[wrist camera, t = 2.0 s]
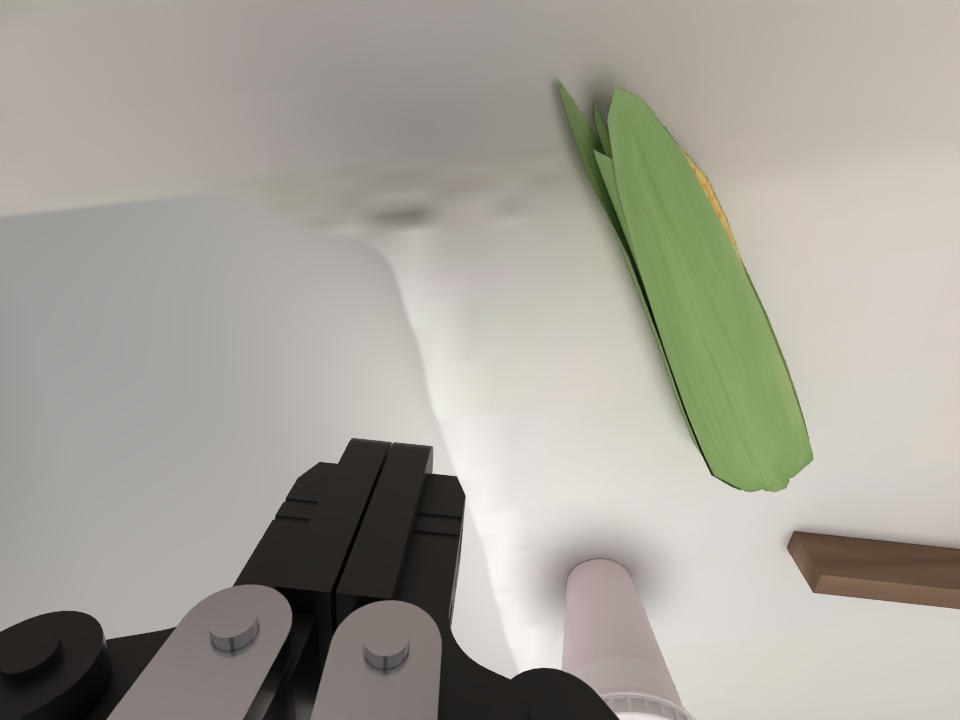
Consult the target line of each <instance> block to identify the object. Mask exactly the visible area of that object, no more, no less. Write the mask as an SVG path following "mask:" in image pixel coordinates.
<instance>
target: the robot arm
mask: <svg viewBox="0 0 960 720" xmlns="http://www.w3.org/2000/svg"><path fill="white" fill-rule="evenodd" d="M432 465H433V447H432V446H425V445H415V444H405V443H396V442H395V443H393V444H392V443H391V442H384V441H376V440H366V439H356V438H352V439H351V440H350V442H349V443H348V446H347V447H346V449H345V451H344V453H343V455H342V457H341V459H340V461H339V463H338V464H334V463H324V462H319V463H318V464H316V465H315V466H314V467H312V468H311V469H310V470H308V471H307V472H305V473H304V474H303V475H302V476H300V477H299V478H298V479H297V480H296V482H295V484H294V485H293V487H292V489H291V490H290V492H289V494H288V496H287V497H286V501H285V502H284V503H283V504H282V505H281V507H280V509H279V510H278V512H277V514H276V517H275V520H272V522H271V524H270V525H269V527H268V529H267V530H266V532H265V534H264V535H263V537H262V539H261V540H260V542H259V544H258V545H257V547H256V549H255V550H254V552H253V554H252V555H251V557H250V559H249V560H248V562H247V563H246V565H245V567H244V569H243V570H242V572H241V574H240V575H239V577H238V578H237V580H236V582H235V584H234V585H233V587H230V588H227V589H224V590H221V591H219V592H216V593H214V594H212V595H210V596H208V597H207V598H205V599H204V600H202V601H201V602H199V603H198V604H197V605H196V606H194V607H193V608H192V609H191V610H190V611H189V612H188V613H187V614H186V616H185V617H184V618H183V619H182V620H181V622H180V623H179V624H178V626H177V627H174V628H170V629H167V630H161V631H156V632H150V633H144V634H138V635H132V636H126V637H120V638H114V639H108V640H105V637H104V633H103V630H102V627H101V625H100V624H99V622H98V621H97V620H96V619H95V618H93V617H92V616H90V615H88V614H85V613H82V612H77V611H59V612H52V613H47V614H43V615H39V616H36V617H33V618H30V619H27V620H25V621H23V622H21V623H18V624H16V625H14V626H11V627H9V628H7V629H5V630H3V631H1V632H0V720H620V719H619V718H618V717H617V716H616V714H615V713H614V712H613V711H612V710H611V709H610V707H609V706H608V705H607V704H606V703H605V702H604V701H603V699H602V698H601V697H600V696H599V695H598V694H597V693H596V692H595V691H594V690H593V689H592V688H591V687H590V686H589V685H588V684H586V683H585V682H584V681H583V680H581V679H579V678H578V677H576V676H574V675H572V674H570V673H567V672H565V671H561V670H557V669H552V668H537V669H531V670H528V671H524V672H522V673H520V674H518V675H516V676H515V677H514V678H512V679H511V680H510V679H508V678H506V677H504V676H501V675H499V674H497V673H495V672H493V671H491V670H488V669H486V668H485V667H483V666H481V665H479V664H477V663H476V662H475V661H473V660H472V659H471V658H469V657H468V656H467V655H466V654H465V653H464V652H463V651H462V649H461V648H460V647H459V645H458V644H457V642H456V640H455V639H454V637H453V635H452V631H451V624H452V616H453V608H454V601H455V594H456V586H457V579H458V572H459V564H460V555H461V544H462V531H463V520H464V508H465V497H466V496H465V493H464V491H463V489H462V487H461V485H460V482H459V480H458V478H457V476H448V475H439V474H432V468H433V466H432Z"/></svg>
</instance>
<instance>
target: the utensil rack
mask: <svg viewBox="0 0 960 720" xmlns="http://www.w3.org/2000/svg"><path fill="white" fill-rule="evenodd" d="M787 550H788V551H789V553H790V555H791V556H792V558H793V560H794V561H795V563H796V565H797V566H798V568H799V570H800V571H801V573H802V575H803V576H804V578H805V580H806V581H807V583H808V585H809V586H810V588H811V590H812V591H813V593H820V594H829V595H838V596H847V597H856V598H865V599H874V600H883V601H891V602H900V603H909V604H918V605H927V606H936V607H945V608H954V609H960V550H958V549H949V548H940V547H930V546H921V545H912V544H903V543H894V542H884V541H875V540H866V539H857V538H847V537H838V536H829V535H820V534H811V533H801V532H794V533H793V536H792V538H791V541H790V543H789V545H788V548H787Z"/></svg>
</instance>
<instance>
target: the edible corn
mask: <svg viewBox="0 0 960 720" xmlns="http://www.w3.org/2000/svg"><path fill="white" fill-rule="evenodd" d="M557 81H558V85H559V89H560V94H561V98H562V102H563V105H564V108H565V111H566V114H567V117H568V120H569V123H570V126H571V129H572V132H573V135H574V138H575V141H576V144H577V147H578V150H579V153H580V156H581V159H582V162H583V165H584V167H585V170H586V172H587V174H588V177H589V179H590V181H591V183H592V185H593V187H594V189H595V191H596V193H597V196H598V198H599V200H600V202H601V204H602V206H603V208H604V210H605V212H606V215H607V217H608V219H609V221H610V223H611V225H612V227H613V229H614V232H615V234H616V237H617V239H618V242H619V245H620V247H621V250H622V252H623V255H624V258H625V260H626V263H627V265H628V268H629V271H630V273H631V276H632V279H633V281H634V284H635V286H636V289H637V292H638V294H639V297H640V299H641V302H642V305H643V307H644V310H645V312H646V315H647V318H648V320H649V323H650V326H651V328H652V331H653V334H654V336H655V339H656V342H657V345H658V348H659V351H660V354H661V356H662V359H663V362H664V365H665V368H666V371H667V374H668V376H669V379H670V382H671V385H672V388H673V391H674V394H675V396H676V399H677V402H678V404H679V407H680V410H681V412H682V415H683V417H684V420H685V422H686V425H687V427H688V430H689V433H690V435H691V438H692V440H693V443H694V444H695V446H696V447H697V449H698V450H699V452H700V453H701V455H702V456H703V458H704V460H705V462H706V465H707V467H708V469H709V471H710V473H711V475H712V476H714V477H716V478H718V479H719V480H721V481H723V482H724V483H726V484H728V485H730V486H731V487H734V488H736V489H739V490H744V491H746V492H755V491H758V490H761V489H764V490H765V491H770V492H778V491H780V490H782V489H785V488H786V487H787V485H788V483H789V479H790V478H792V477H794V476H795V475H796V474H798V473H799V472H800V471H801V470H802V469H803V468H804V467H806V466H807V465H808V464H809V463H810V462H811V461H812V460H813V453H812V449H811V445H810V442H809V437H808V433H807V429H806V425H805V421H804V417H803V414H802V411H801V407H800V404H799V400H798V397H797V394H796V391H795V388H794V385H793V382H792V379H791V376H790V373H789V370H788V367H787V364H786V362H785V359H784V357H783V354H782V352H781V349H780V347H779V344H778V342H777V339H776V337H775V334H774V332H773V329H772V327H771V324H770V322H769V319H768V317H767V314H766V312H765V310H764V307H763V305H762V303H761V301H760V299H759V297H758V295H757V292H756V290H755V288H754V286H753V284H752V282H751V279H750V277H749V275H748V273H747V271H746V269H745V267H744V264H743V262H742V260H741V258H740V255H739V252H738V249H737V246H736V243H735V241H734V238H733V235H732V232H731V229H730V226H729V223H728V220H727V218H726V216H725V214H724V212H723V210H722V208H721V206H720V203H719V201H718V199H717V197H716V195H715V193H714V191H713V189H712V187H711V184H710V182H709V180H708V178H707V176H706V175H705V174H704V173H703V172H702V171H701V169H700V168H699V167H698V166H697V165H696V164H695V163H694V161H693V160H692V159H691V158H690V157H689V156H688V154H687V153H686V152H685V151H684V150H682V149H681V148H679V147H678V145H677V144H676V142H675V141H674V139H673V138H672V136H671V135H670V133H669V132H668V130H667V129H666V127H664V126H663V125H662V124H661V122H660V121H659V120H658V118H657V117H656V116H655V114H654V113H653V112H652V110H651V109H650V108H649V106H648V105H647V104H646V102H645V101H644V100H643V99H641V98H639V97H637V96H635V95H633V94H632V93H630V92H628V91H626V90H624V89H622V88H620V87H618V86H615V90H614V94H613V98H612V102H611V106H610V110H609V114H608V118H607V122H608V129H609V135H610V138H609V136H608V133H607V130H606V128H605V125H604V123H603V120H602V118H601V115H600V113H599V110H598V108H597V105H596V102H595V100H594V120H595V124H596V127H597V130H598V133H599V137H600V140H601V143H602V145H601V143H600V141H599V140H598V138H597V137H596V135H595V134H594V132H593V131H592V129H591V127H590V126H589V124H588V123H587V121H586V120H585V118H584V117H583V115H582V113H581V112H580V110H579V109H578V107H577V106H576V104H575V103H574V101H573V99H572V98H571V96H570V95H569V94H568V92H567V91H566V89H565V88H564V87H563V85H562V84H561V82H560V81H559V80H558V78H557Z"/></svg>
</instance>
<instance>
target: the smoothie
mask: <svg viewBox="0 0 960 720" xmlns="http://www.w3.org/2000/svg"><path fill="white" fill-rule="evenodd" d="M562 671H565V672H567V673H570V674H572V675H574V676H576V677H578V678H579V679H581V680H583V681H584V682H585V683H586V684H588V685H589V686H590V687H591V688H592V689H593V690H594V691H595V692H596V693H597V694H598V695H599V696H600V697H601V698H602V699H603V701H604V702H605V703H606V704H607V705H608V706H609V707H610V709H611V710H612V711H613V712H614V713H615V714H616V716H617V717H618V718H619V719H620V720H695V719H694V718H693V717H692V716H691V715H690V714H689V713H688V712H687V711H686V710H685V709H684V708H683V706H682V703H681V701H680V698H679V695H678V693H677V690H676V688H675V685H674V683H673V681H672V678H671V676H670V673H669V671H668V668H667V666H666V663H665V661H664V658H663V656H662V653H661V651H660V648H659V646H658V643H657V641H656V638H655V636H654V633H653V631H652V628H651V626H650V623H649V621H648V618H647V616H646V613H645V611H644V608H643V606H642V603H641V601H640V598H639V596H638V593H637V591H636V588H635V586H634V583H633V581H632V578H631V576H630V573H629V572H628V571H627V569H626V568H625V567H623V566H622V565H621V564H619V563H617V562H615V561H612V560H607V559H593V560H588V561H585V562H583V563H581V564H579V565H577V566H576V567H575V568H574V569H573V570H572V571H571V572H570V574H569V576H568V579H567V592H566V608H565V625H564V641H563V658H562Z"/></svg>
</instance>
